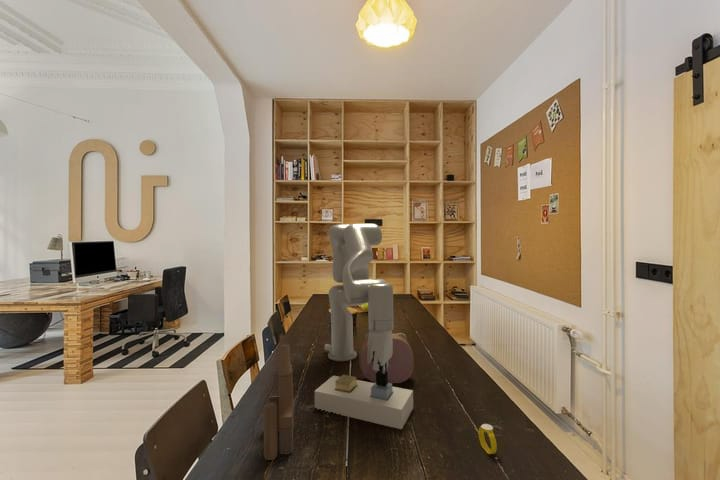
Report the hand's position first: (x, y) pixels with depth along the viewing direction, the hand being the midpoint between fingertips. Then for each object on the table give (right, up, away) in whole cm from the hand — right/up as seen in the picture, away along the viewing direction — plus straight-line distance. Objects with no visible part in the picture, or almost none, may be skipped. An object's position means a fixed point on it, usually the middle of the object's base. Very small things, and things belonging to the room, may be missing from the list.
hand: (381, 384), depth 98 cm
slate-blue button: (0, -3, 0) cm, 3 cm away
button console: (-5, -9, +3) cm, 11 cm away
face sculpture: (+3, -8, +22) cm, 24 cm away
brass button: (-11, -3, +5) cm, 13 cm away
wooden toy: (-28, -10, -12) cm, 32 cm away
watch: (+25, -9, -17) cm, 32 cm away
